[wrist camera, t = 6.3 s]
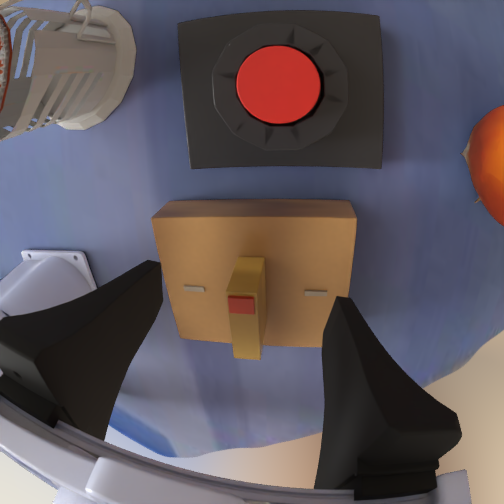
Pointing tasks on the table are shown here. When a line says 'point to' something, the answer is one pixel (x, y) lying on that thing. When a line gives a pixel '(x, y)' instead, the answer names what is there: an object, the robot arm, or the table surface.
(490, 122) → the fruit
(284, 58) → the button
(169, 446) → the table surface
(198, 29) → the box
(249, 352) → the lock knob
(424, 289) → the table surface
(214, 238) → the plate
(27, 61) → the french press
